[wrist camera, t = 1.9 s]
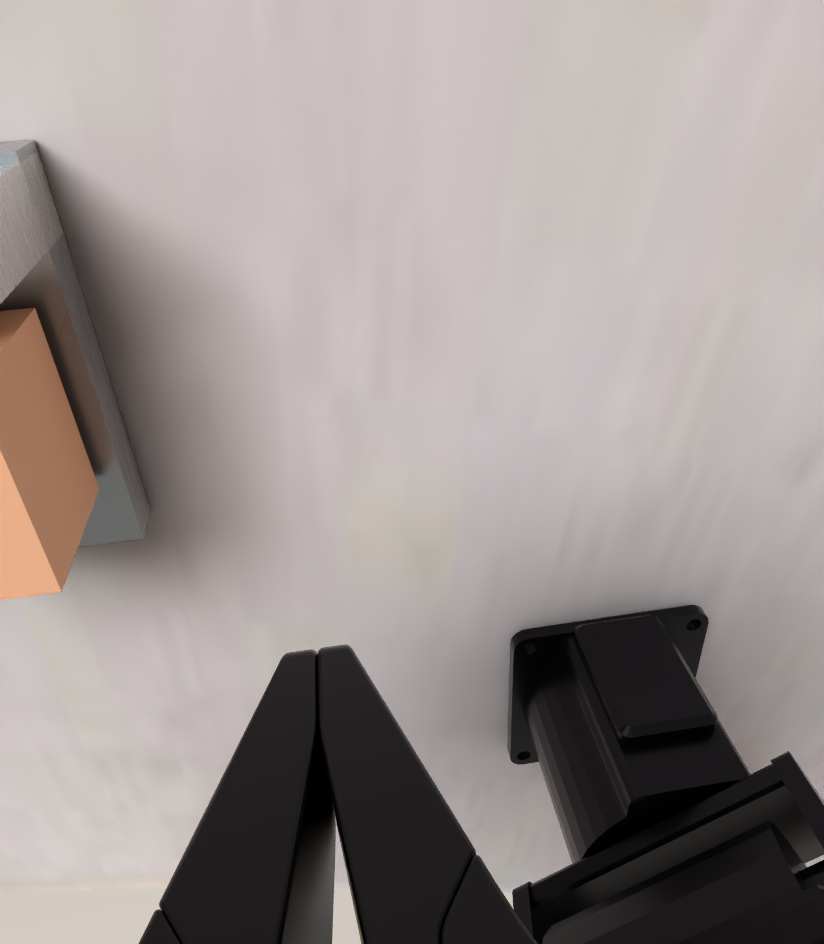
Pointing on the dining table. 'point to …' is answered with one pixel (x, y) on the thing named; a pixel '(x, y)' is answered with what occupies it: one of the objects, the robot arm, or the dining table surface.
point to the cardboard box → (37, 464)
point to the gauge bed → (67, 339)
